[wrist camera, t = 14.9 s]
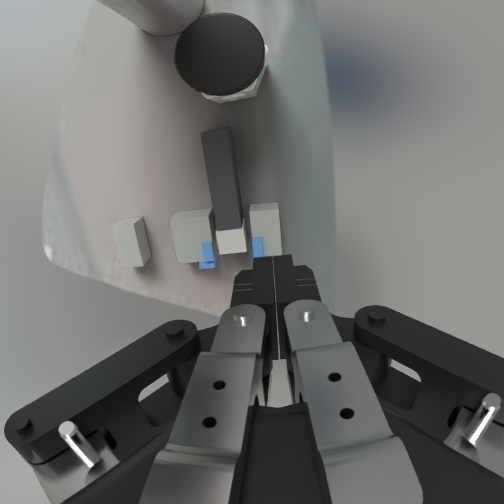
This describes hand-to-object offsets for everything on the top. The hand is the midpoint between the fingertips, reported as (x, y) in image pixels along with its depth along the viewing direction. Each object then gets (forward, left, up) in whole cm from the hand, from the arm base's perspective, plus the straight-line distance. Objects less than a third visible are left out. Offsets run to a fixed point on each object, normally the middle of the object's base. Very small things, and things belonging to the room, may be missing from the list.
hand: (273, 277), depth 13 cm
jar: (-13, -3, -29) cm, 32 cm away
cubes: (+8, -10, -29) cm, 32 cm away
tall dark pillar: (+2, -5, -29) cm, 30 cm away
